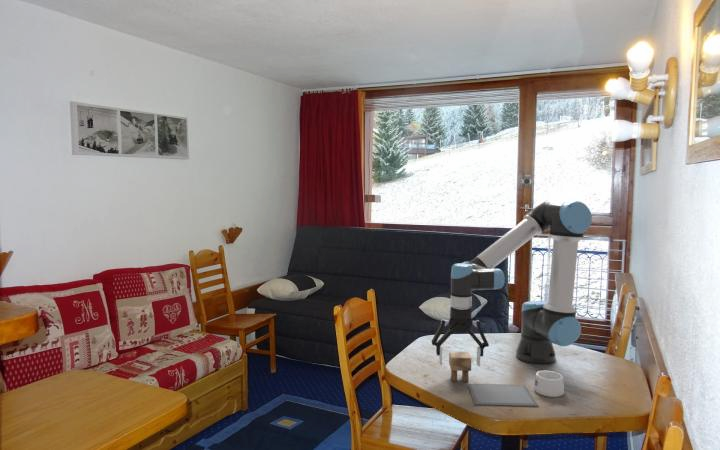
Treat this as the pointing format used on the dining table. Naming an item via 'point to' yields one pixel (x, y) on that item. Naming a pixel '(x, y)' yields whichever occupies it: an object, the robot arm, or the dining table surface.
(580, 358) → the dining table surface
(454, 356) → the small wooden stool
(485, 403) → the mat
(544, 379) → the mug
